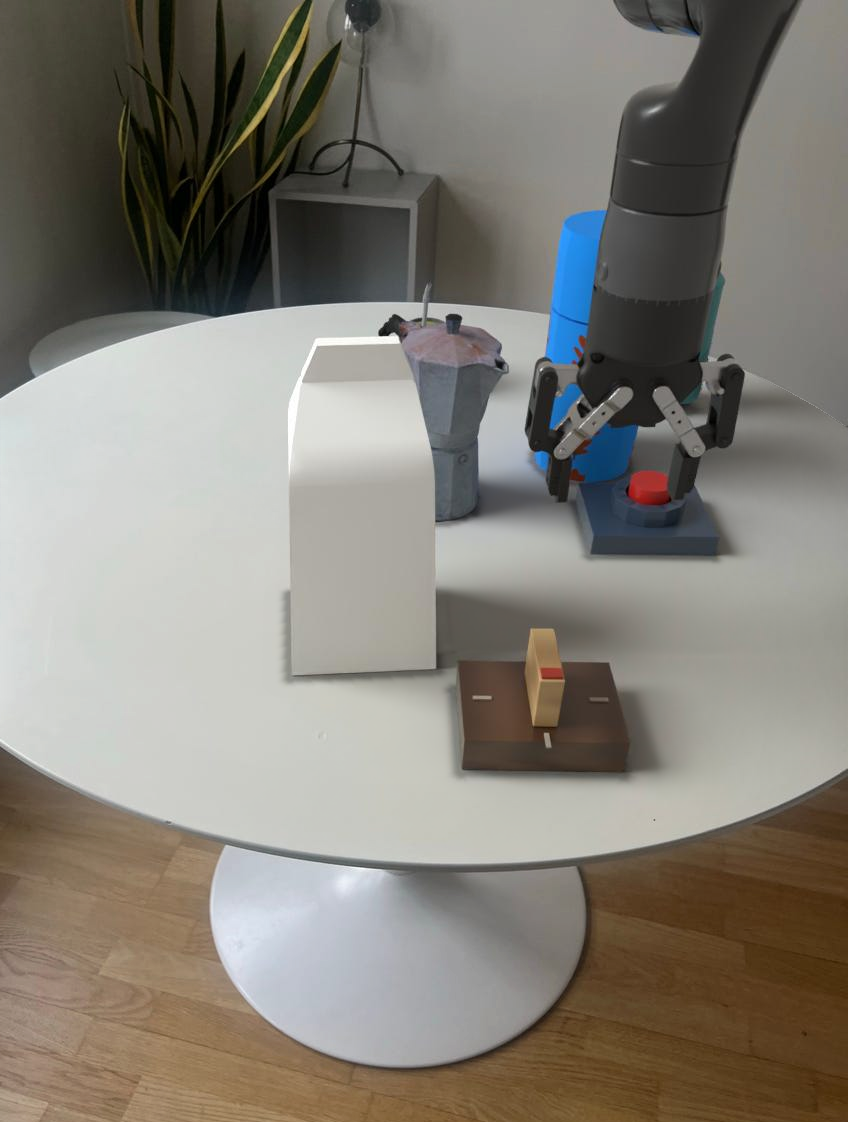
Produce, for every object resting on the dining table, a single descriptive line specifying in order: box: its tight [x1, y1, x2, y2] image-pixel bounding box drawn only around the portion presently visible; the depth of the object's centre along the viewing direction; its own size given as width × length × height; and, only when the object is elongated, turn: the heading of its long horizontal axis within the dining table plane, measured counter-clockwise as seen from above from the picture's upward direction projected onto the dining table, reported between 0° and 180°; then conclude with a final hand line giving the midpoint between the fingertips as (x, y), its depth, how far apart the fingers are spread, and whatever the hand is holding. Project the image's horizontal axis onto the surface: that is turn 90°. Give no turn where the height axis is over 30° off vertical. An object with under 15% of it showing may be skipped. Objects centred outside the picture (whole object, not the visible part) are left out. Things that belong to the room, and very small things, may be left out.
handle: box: [525, 627, 565, 727], centre depth 71 cm, size 6×2×5 cm, turn 179°
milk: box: [287, 335, 437, 677], centre depth 76 cm, size 12×12×26 cm
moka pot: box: [377, 313, 510, 522], centre depth 95 cm, size 10×15×20 cm, turn 53°
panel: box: [455, 659, 632, 773], centre depth 74 cm, size 12×10×3 cm
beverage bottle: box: [680, 271, 726, 405], centre depth 112 cm, size 6×7×20 cm
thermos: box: [534, 209, 639, 483], centre depth 100 cm, size 11×11×25 cm
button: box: [628, 470, 670, 505], centre depth 94 cm, size 4×4×2 cm
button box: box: [575, 475, 720, 557], centre depth 96 cm, size 12×10×4 cm
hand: (616, 496), depth 72 cm, fingers open, 8 cm apart
